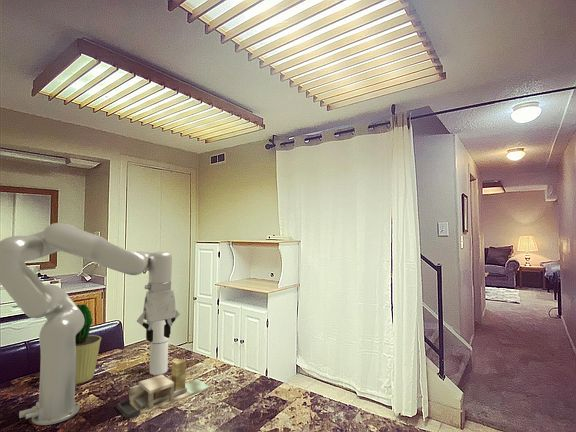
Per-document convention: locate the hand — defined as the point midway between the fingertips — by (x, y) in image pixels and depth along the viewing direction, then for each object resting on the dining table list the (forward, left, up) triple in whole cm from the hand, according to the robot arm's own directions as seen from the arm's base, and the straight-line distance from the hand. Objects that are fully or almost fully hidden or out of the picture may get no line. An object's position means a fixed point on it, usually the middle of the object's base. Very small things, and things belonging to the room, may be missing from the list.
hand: (158, 338), depth 116 cm
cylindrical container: (+12, +24, -22) cm, 34 cm away
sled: (+2, 0, -21) cm, 21 cm away
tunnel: (+3, 0, -21) cm, 22 cm away
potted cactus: (-14, +40, -22) cm, 48 cm away
